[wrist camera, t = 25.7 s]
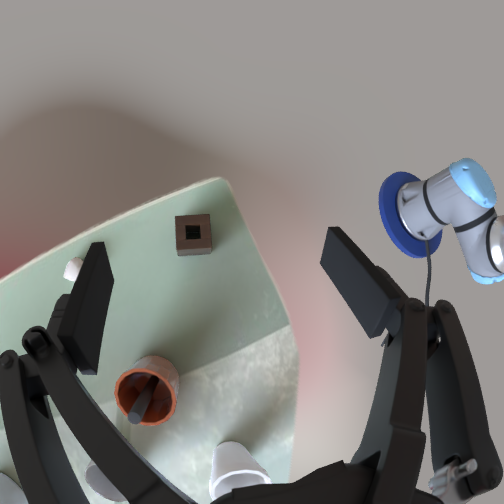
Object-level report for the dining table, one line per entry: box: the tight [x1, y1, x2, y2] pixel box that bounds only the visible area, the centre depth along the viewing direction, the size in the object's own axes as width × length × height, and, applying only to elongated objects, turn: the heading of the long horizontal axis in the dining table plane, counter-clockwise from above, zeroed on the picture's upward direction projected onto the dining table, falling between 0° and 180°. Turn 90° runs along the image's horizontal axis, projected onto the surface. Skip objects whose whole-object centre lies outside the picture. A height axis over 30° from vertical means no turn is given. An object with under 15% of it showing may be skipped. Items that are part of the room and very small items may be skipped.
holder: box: [175, 214, 212, 256], centre depth 45 cm, size 6×6×5 cm
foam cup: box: [209, 441, 273, 500], centre depth 34 cm, size 10×9×13 cm
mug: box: [85, 460, 128, 502], centre depth 30 cm, size 13×9×10 cm
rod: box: [127, 376, 159, 424], centre depth 32 cm, size 2×2×18 cm
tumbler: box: [114, 355, 180, 426], centre depth 36 cm, size 9×9×11 cm
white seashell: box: [64, 257, 83, 281], centre depth 40 cm, size 4×5×2 cm
